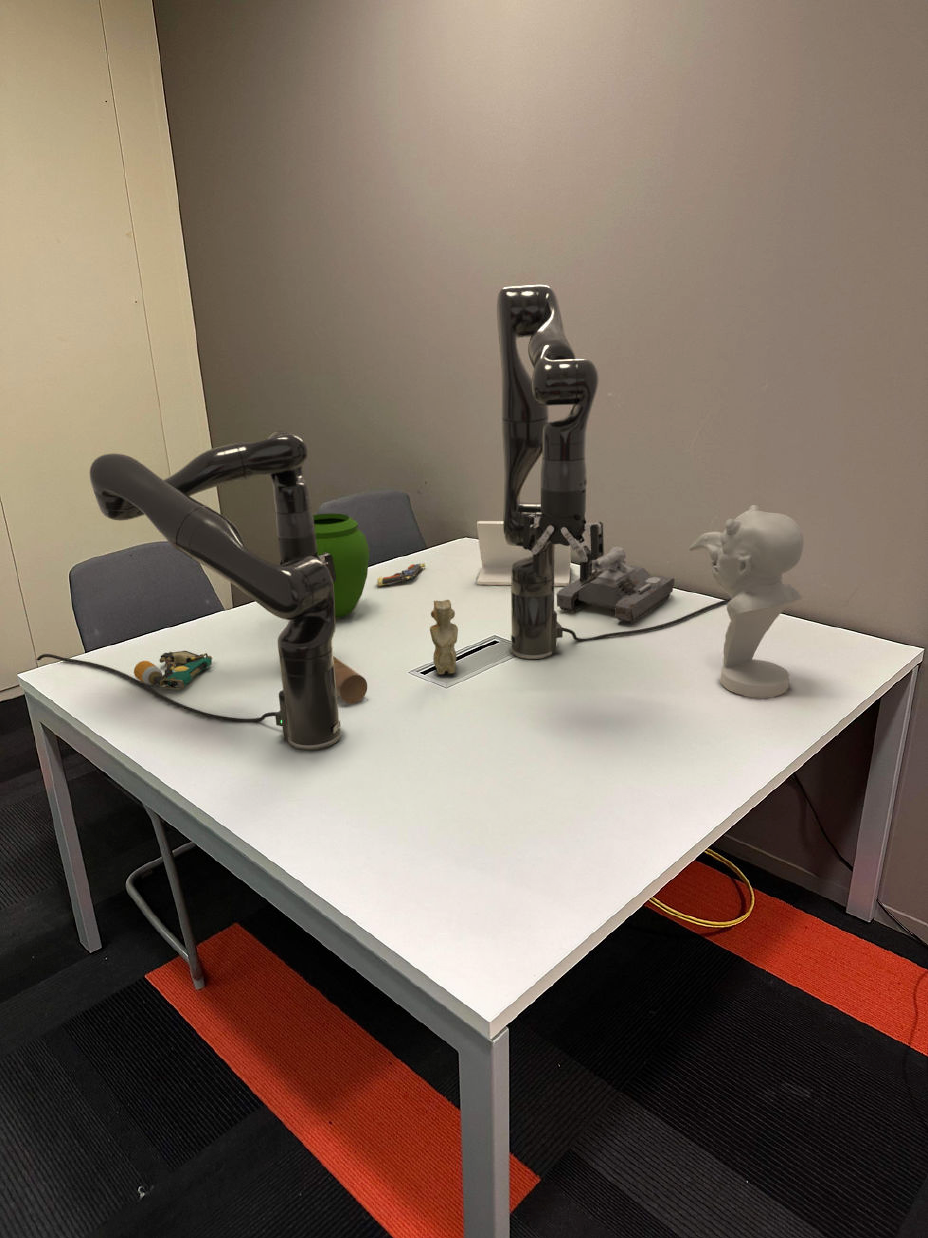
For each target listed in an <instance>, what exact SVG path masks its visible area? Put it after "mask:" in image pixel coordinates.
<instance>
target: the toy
mask: <svg viewBox="0 0 928 1238" xmlns="http://www.w3.org/2000/svg"><path fill="white" fill-rule="evenodd" d="M626 557H627V556H626V551H625V549H624V548H622V547H621V546H614V547H612V548H611V549H610V550H609V552H608V553H607V554H604V555H603V556H602V557H600V558H598V559H597V560H593V561H592V576H591V578H590V579H589V580H588V581H587V582H585V583H582V582H580V578H578V579H577V580H575V581H573V582H570V583H569V585H567V586H563V587H562V588H560V589H559V590H558V591H557V592H556V607H558V608H559V609H560V610H562V611H566V612H572V613H575V612H577V611H579V610H581V609H582V608H585V607H586V606H588V605H592V606H598V607H602V608H603V607H604V608H609V609H613V610H614V618H615V619H617V620H618V621H621V622H626V623H631V624H634V623H635V622H637V621H638V620H640V619H641V618H642V617H644V616H645V615H647V614H648V613H650V612H651V611H652V610H654V609H655V608H657V607H659V606H660V605H661V604H663V603H664V602H666V601H667V600H669V598H670V596H671V594H672V593H673V591H674V585H675V580H676V579H675V578H673V577H668V576H663V575H656V576H655V577H654V576H651V574H650V573H649V572H648V571H647V570H646V568H644V567H641V566H635V565H629V564H628V563H627V562H626V561H625V559H626Z"/></svg>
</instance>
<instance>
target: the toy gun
mask: <svg viewBox="0 0 928 1238" xmlns="http://www.w3.org/2000/svg"><path fill="white" fill-rule="evenodd" d="M425 567H426V563H424V562H423V563H416V564H414V563H413V564H410V565H409V566H408V567H407V569H405V570H401V572H396V573H394V574H393V575H390V576H379V577H377V579H376V582H377V586H379V587H381V586H384V585H385V586H386V585H390V584H394V583H399V582H402V581H405V580H409V579H413V577H415V576H417V575H418V572H420V570H423V568H425Z"/></svg>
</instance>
